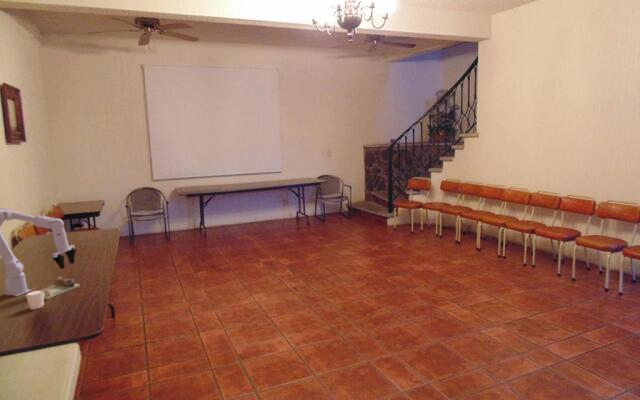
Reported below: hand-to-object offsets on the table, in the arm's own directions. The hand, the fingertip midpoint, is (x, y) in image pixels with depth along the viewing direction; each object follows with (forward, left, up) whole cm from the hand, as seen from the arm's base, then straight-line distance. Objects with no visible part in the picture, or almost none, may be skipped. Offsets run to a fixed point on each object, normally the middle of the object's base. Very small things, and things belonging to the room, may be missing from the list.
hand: (67, 265), depth 236 cm
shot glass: (+12, -28, -10) cm, 32 cm away
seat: (+2, -11, -10) cm, 15 cm away
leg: (+3, -5, -8) cm, 11 cm away
